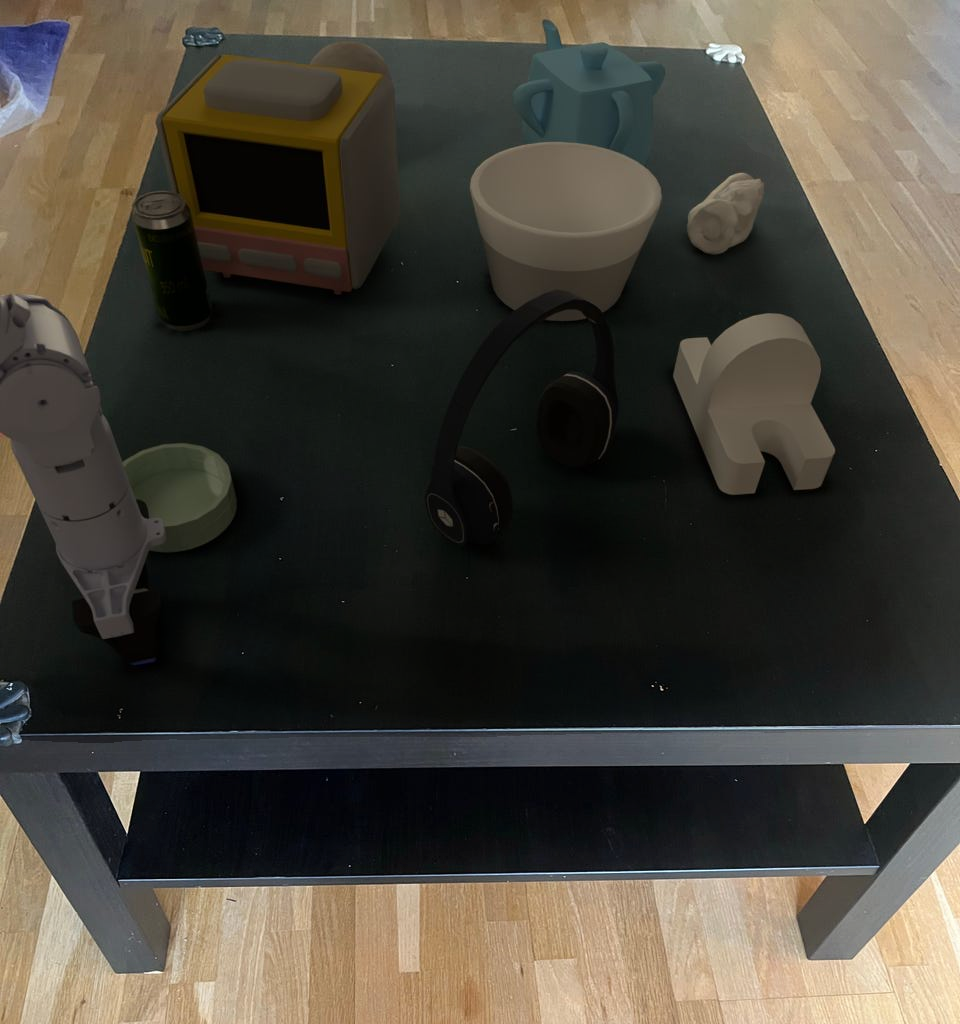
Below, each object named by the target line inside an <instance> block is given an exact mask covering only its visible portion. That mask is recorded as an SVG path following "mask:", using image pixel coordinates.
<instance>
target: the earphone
mask: <svg viewBox="0 0 960 1024" xmlns="http://www.w3.org/2000/svg"><path fill="white" fill-rule="evenodd" d="M564 310H579V311H581V312H582V313H583V314H584V315H585V317H586V320H587V321H588V323H589V324H590V327H591V329H592V332H593V337H594V338H593V339H594V343H595V362H594V367H593V368H592V370H591V372H590V373H589V374H587V373H584V372H580V371H573V370H571V371H569V372H567V373H566V374H564V375H562V376H560V377H559V378H557V379H555V380H554V381H553V382H551V383H549V384H548V385H547V386H545V389H544V391H543V392H542V394H541V396H540V399H539V403H538V408H537V412H536V413H537V415H536V422H535V423H536V424H535V425H536V434H537V438H538V441H539V443H540V446H541V448H542V449H543V450H544V451H545V452H546V453H547V455H549V456H550V457H551V458H553V459H554V460H555V461H557V462H559V463H560V464H562V465H563V466H566V467H570V468H574V469H579V470H580V469H583V468H585V467H587V466H589V465H591V464H593V463H595V462H597V461H599V460H600V459H602V458H604V457H605V456H606V455H607V453H608V451H609V449H610V448H611V446H612V443H613V440H614V437H615V434H616V428H617V422H618V417H619V411H620V408H619V407H620V406H619V397H618V391H617V385H616V379H615V347H614V341H613V336H612V331H611V328H610V325H609V323H608V321H607V318H606V316H605V314H604V312H602V311H601V310H600V309H599V308H598V307H597V306H595V305H594V304H592V303H590V302H588V301H586V300H584V299H582V298H580V297H579V296H577V295H575V294H573V293H571V292H569V291H564V290H553V291H550V292H547V293H544V294H542V295H540V296H538V297H536V298H534V299H532V300H530V301H528V302H526V303H525V304H523V305H522V306H521V307H519V308H518V309H516V310H512V312H511V313H510V314H508V315H507V316H506V317H505V318H504V319H503V320H501V321H500V322H499V323H498V324H497V325H495V327H493V329H492V330H491V331H490V333H489V334H488V335H487V337H486V338H484V340H483V341H482V343H481V344H480V345H479V347H478V349H477V350H476V352H475V353H474V355H473V357H472V358H471V360H470V361H469V363H468V365H467V366H466V369H465V370H464V372H463V374H462V375H461V377H460V379H459V381H458V383H457V386H456V387H455V389H454V392H453V394H452V397H451V399H450V401H449V404H448V407H447V408H446V412H445V414H444V416H443V420H442V423H441V426H440V429H439V432H438V436H437V441H436V446H435V452H434V458H433V459H434V460H433V463H432V465H431V469H430V482H429V484H428V486H427V488H426V490H425V493H424V504H425V509H426V512H427V515H428V518H429V521H430V522H431V523H432V525H433V526H434V528H435V529H436V530H437V531H438V532H439V533H440V534H441V535H442V536H444V537H445V538H446V539H447V540H449V541H451V542H452V543H453V544H454V545H455V544H456V545H458V546H460V547H463V546H465V545H467V543H468V541H469V542H471V543H474V544H479V545H487V544H491V543H492V542H493V541H495V539H496V538H497V536H499V535H501V533H503V532H504V531H505V529H506V528H508V527H509V526H510V523H511V521H512V518H513V514H514V503H513V502H514V501H513V494H512V490H511V487H510V484H509V481H508V479H507V478H506V476H505V474H504V473H503V472H502V469H500V468H499V467H498V466H497V465H496V464H495V463H494V462H493V461H492V460H491V459H489V458H488V457H486V456H485V455H483V454H482V453H480V452H478V451H477V450H475V449H473V448H471V447H468V446H464V445H459V442H460V439H461V436H462V433H463V430H464V427H465V424H466V422H467V419H468V417H469V415H470V412H471V409H472V407H473V406H474V404H475V401H476V400H477V399H478V398H477V397H479V394H480V392H481V390H482V388H483V387H484V385H485V383H486V381H487V380H488V379H489V376H490V375H491V373H492V372H493V370H494V369H495V368H496V366H497V365H498V363H499V361H501V359H502V357H503V356H504V355H505V354H506V353H507V351H508V350H509V349H510V348H511V347H512V346H513V344H514V343H516V341H518V340H519V339H520V338H521V337H522V336H523V335H524V334H526V333H527V332H528V331H529V330H531V329H532V328H533V327H535V326H537V325H538V324H539V323H542V322H543V321H545V320H544V319H546V318H548V317H550V316H552V315H553V314H555V313H558V312H561V311H564Z"/></svg>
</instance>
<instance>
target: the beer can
mask: <svg viewBox="0 0 960 1024" xmlns="http://www.w3.org/2000/svg"><path fill="white" fill-rule="evenodd" d="M131 208H132V215H131V218H132V222H133V226H134V229H135V234H136V237H137V239H138V244H139V247H140V252H141V256H142V259H143V262H144V266H145V270H146V273H147V277H148V280H149V284H150V285H149V286H150V288H151V292H152V296H153V300H154V302H155V307H156V310H157V313H158V317H159V319H160V320H161V321H162V323H164V325H165V326H166V327H167V328H169V329H171V330H174V331H178V332H188V331H189V332H190V331H194V330H197V329H200V328H202V327H203V326H205V325H207V324H208V323H209V321H210V320H211V316H212V312H213V306H212V300H211V297H210V292H209V288H208V283H207V278H206V275H205V270H204V269H203V265H202V260H201V256H200V251H199V247H198V242H197V238H196V233H195V229H194V224H193V220H192V216H191V211H190V208H189V207H188V206H187V204H186V201H185V198H184V197H183V196H182V195H180V194H178V193H176V192H172V191H171V190H157V191H156V190H153V191H150V192H146V193H143V194H142V195H139V196H138V197H136V198H135V199H134V200H133V202H132V204H131Z"/></svg>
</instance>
